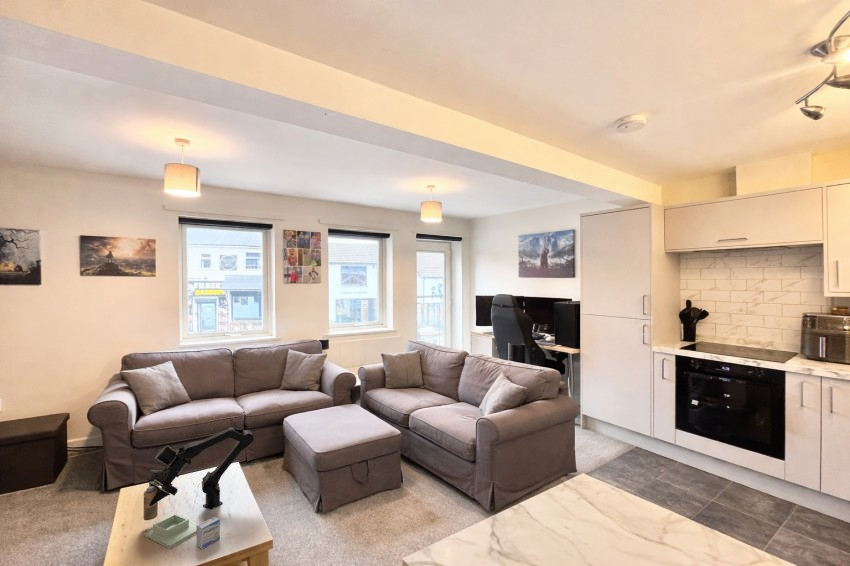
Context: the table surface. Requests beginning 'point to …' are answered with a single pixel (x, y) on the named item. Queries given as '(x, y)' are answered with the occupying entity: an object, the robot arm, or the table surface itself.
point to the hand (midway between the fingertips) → (147, 503)
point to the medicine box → (208, 532)
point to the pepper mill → (149, 511)
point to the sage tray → (172, 530)
